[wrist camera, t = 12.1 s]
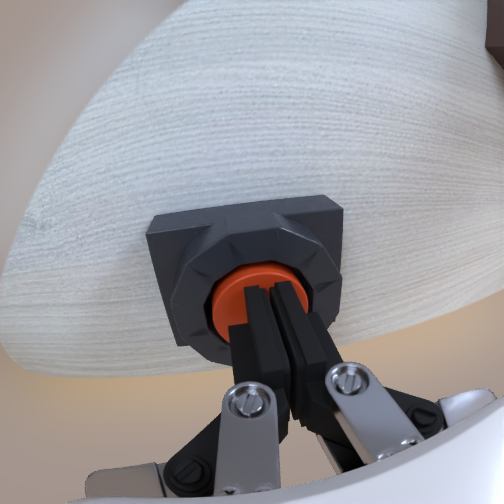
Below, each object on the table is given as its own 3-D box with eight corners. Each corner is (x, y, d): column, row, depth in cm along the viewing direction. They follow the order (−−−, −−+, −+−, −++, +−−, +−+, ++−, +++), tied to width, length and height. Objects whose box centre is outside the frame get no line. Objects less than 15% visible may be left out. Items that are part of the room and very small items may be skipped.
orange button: (218, 328, 13) (220, 355, 11) (204, 257, 11) (204, 280, 10) (296, 315, 13) (307, 341, 11) (296, 244, 11) (310, 265, 10)
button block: (180, 323, 15) (177, 377, 12) (153, 210, 12) (133, 247, 9) (321, 301, 16) (348, 349, 13) (324, 189, 13) (365, 216, 10)
